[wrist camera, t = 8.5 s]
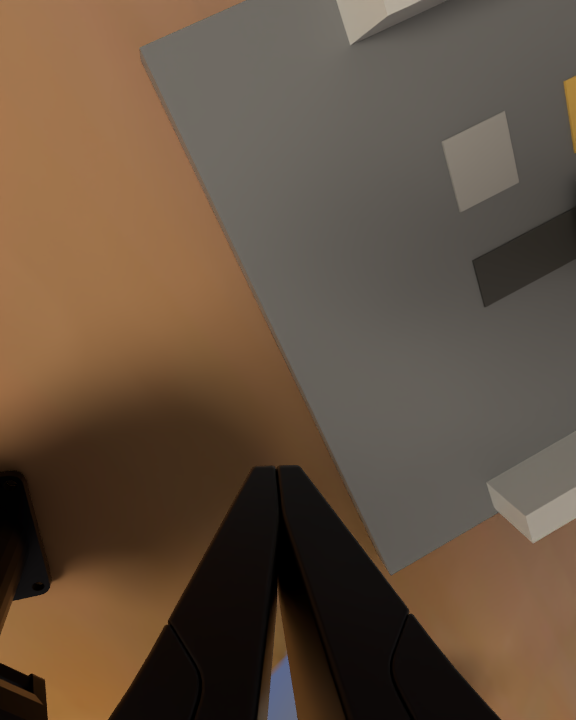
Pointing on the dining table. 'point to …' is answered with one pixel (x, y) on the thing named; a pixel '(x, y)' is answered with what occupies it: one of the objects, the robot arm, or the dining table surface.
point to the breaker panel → (403, 239)
